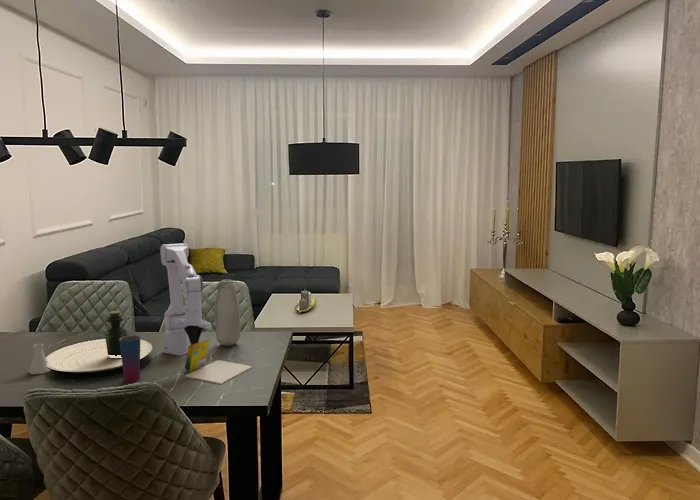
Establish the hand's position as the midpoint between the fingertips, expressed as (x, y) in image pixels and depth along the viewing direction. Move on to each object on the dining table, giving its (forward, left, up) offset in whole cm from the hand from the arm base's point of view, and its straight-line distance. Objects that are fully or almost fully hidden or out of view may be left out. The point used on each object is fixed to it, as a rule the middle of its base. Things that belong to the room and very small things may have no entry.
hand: (194, 345), depth 201 cm
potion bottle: (-37, -3, -9) cm, 38 cm away
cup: (-13, -18, -9) cm, 24 cm away
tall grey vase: (-7, +28, -9) cm, 30 cm away
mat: (+10, +1, -9) cm, 14 cm away
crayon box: (0, 0, -9) cm, 9 cm away
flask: (-49, -27, -9) cm, 56 cm away
